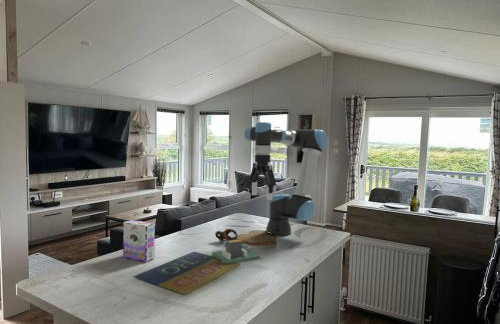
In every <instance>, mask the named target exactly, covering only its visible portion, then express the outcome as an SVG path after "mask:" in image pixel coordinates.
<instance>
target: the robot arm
mask: <svg viewBox="0 0 500 324" xmlns="http://www.w3.org/2000/svg"><path fill="white" fill-rule="evenodd" d="M244 137H245V140H246V141H250V142H255V143H254V144H255V145H254V146H255V148H254V150H255V151H254V153H255V155H254V162H253V163H252V168H251V172H250V175H249V181H250V183H251V196H258V179H259V177H260V175H261V174H262V176H264V179H265V182H266V184H267V185H266V201H269V218H268V222H267V225H266V228H265V232H266V231H267V232H270V233H272V234H274V235H273V236H275V235H276V236H278V237H285V236H290V235H291V234H292V228H291V223H290V219H294V220H298V221H308V220H310V218H312V216H313V215H314V211H315V203H314V201H313V197H312V196H311V192H312V188H313V184H314V178H315V173H316V169H317V163H318V158H319V156H321V155H322V152H323V151H324V150H326V149H327V148H328V143H329V141H328V140H329V139H328V135H327V133H326V131H324V130H323V129H317V128H316V129H301V128H300V129H286V130H285V129H284V127H280V126H272V123H271V122H269V121H267V122H263V121H262V122H261V121H260V122H259V121H258V122H257V123H255V126H248V127H246V128H245V130H244ZM271 143H273V144H282V145H285V146H288V147H292V148H297V149H301V151H302V152H303V154H302V155H303V156H302V161H301V165H300V170H299V173H298V177H297V178H298V179H297V182H296V188H295V192H293V193H292V194H291V195H290V194H289V193H286V194H285V193H281V194H273V193H274V191H273V190H274V187H275V186H276V185H277V181H276V178H275V174H274V170H273V165H272V164H271V165H270V164H269V163H271V151H272V149H271V148H272V147H271V145H272V144H271Z"/></svg>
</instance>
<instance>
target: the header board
mask: <svg viewBox="0 0 500 324" xmlns="http://www.w3.org/2000/svg"><path fill="white" fill-rule="evenodd" d="M212 256H214V257H215V258H216V257H217V258H216V259H218V260H219V259H220V260H221V262H222V261H223V262H224V263H230V264H235V263H236V264H237V263H241V262H247V261H250V260H251V261H252V260H256V259H260V258H261V256H260V254H257V253H256V252H254V251H253V247H252V246H250V245H248V243H247V244H246V243H242V252H241V256H240V257H235V258H231V254H230V253H229V252H227V251H226V249H221V250H217V251H212ZM220 260H219V261H220ZM223 262H222V263H223ZM224 263H223V264H224Z"/></svg>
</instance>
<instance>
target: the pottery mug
mask: <svg viewBox="0 0 500 324" xmlns="http://www.w3.org/2000/svg"><path fill="white" fill-rule="evenodd" d="M230 233H233V235H235V236H233V237H232V236H230V235H229V234H230ZM214 235H215V237H216V239H218V241H219V242H222V241H224V240H226V241H228V240H236V239H238V232H237V231H236V230H235V229H231V228H226V229H225V230H223V231H220V230H218V231H216V232H215V233H214Z"/></svg>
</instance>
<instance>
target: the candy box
mask: <svg viewBox="0 0 500 324" xmlns="http://www.w3.org/2000/svg"><path fill="white" fill-rule="evenodd" d="M122 231H123V232H122V255H123V256H122V258H126V259H129V260H133V261H138V262H143V263H147V262H150V261H152V260H155V238H156V237H155V236H156V235H155V231H156V223H153V222H145V221H140V220H135V219H131V220H126V221H124V222H122Z"/></svg>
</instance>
